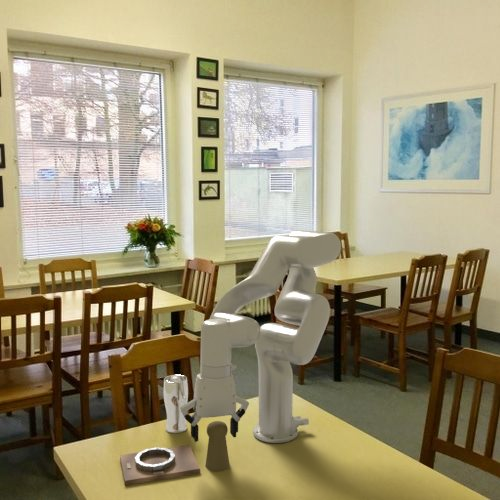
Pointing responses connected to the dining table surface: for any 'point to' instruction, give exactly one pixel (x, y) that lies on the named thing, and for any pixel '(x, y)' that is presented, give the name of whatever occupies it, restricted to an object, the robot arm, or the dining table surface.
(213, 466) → the cork
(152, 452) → the hub ring
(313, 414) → the dining table surface
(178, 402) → the beer glass
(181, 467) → the board
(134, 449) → the dining table surface
